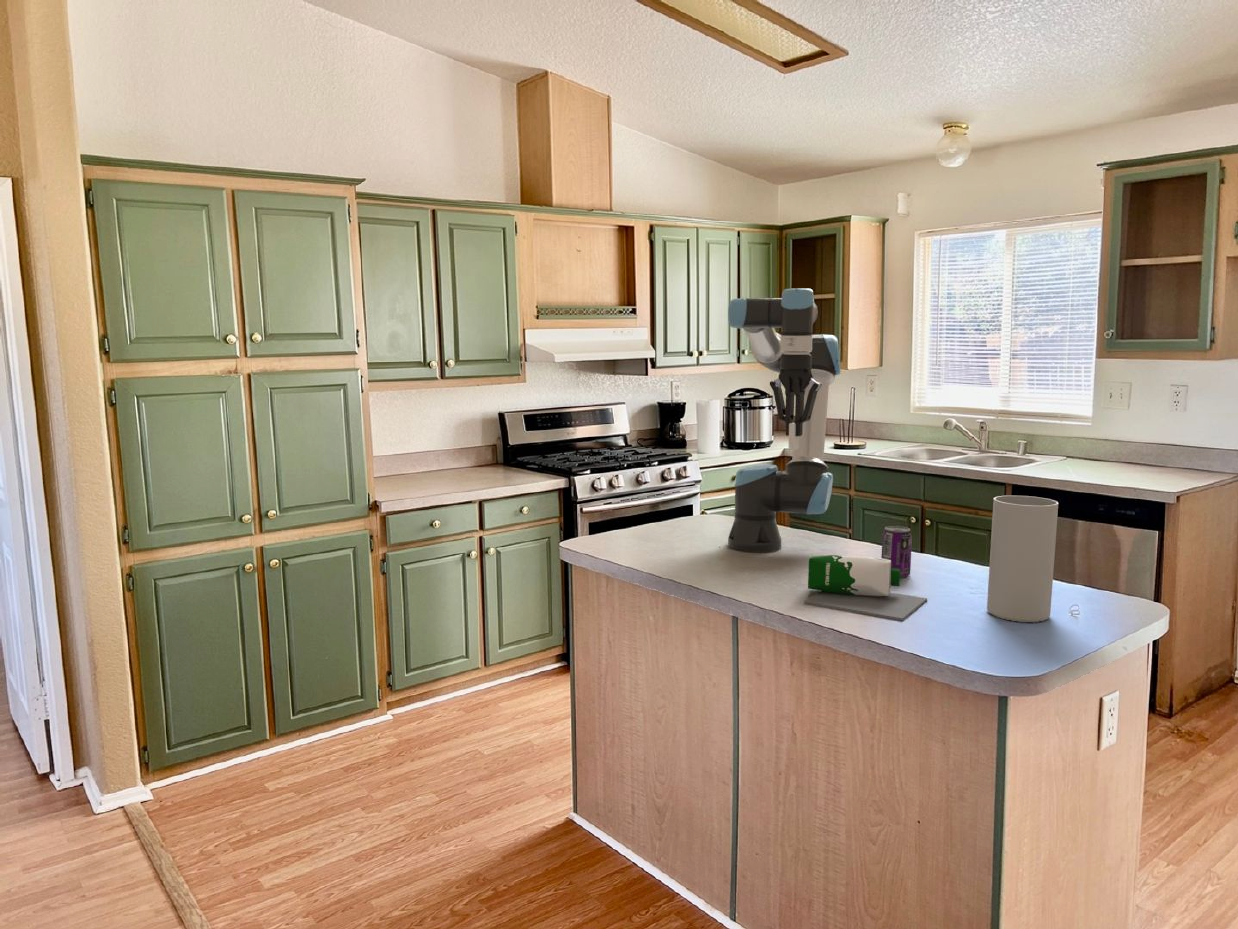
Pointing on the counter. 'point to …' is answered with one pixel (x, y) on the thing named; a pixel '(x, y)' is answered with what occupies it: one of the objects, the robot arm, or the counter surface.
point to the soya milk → (852, 575)
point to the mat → (870, 604)
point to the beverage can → (897, 548)
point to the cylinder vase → (1022, 558)
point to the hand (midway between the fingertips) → (793, 449)
